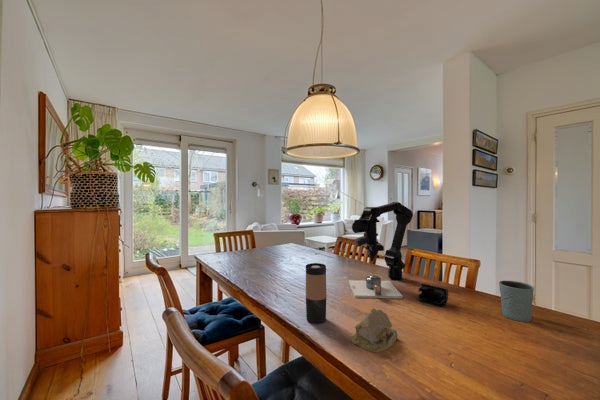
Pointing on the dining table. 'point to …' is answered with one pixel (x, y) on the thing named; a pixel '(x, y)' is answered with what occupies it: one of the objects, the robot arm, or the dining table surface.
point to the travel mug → (316, 293)
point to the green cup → (516, 300)
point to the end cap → (433, 295)
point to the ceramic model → (375, 332)
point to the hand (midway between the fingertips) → (371, 261)
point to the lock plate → (364, 292)
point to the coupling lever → (374, 283)
